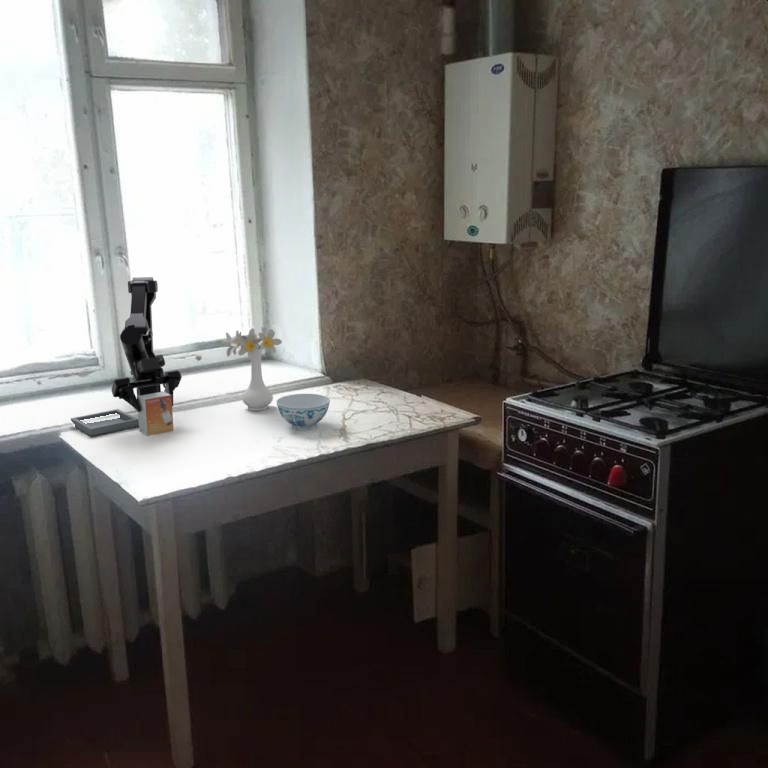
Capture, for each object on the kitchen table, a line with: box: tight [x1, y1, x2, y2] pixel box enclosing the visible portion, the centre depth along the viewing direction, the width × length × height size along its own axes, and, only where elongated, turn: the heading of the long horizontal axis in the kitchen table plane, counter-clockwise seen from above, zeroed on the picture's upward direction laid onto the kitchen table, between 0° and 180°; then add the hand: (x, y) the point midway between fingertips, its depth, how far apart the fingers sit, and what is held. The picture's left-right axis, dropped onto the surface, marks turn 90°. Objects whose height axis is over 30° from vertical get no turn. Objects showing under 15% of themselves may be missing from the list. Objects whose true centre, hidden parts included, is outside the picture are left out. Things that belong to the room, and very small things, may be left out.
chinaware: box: [276, 393, 331, 431], centre depth 228 cm, size 15×15×8 cm
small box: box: [136, 390, 174, 436], centre depth 225 cm, size 8×6×10 cm
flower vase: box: [221, 326, 283, 412], centre depth 244 cm, size 13×18×25 cm
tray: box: [70, 408, 139, 439], centre depth 229 cm, size 14×14×2 cm
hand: (156, 408), depth 223 cm, fingers open, 9 cm apart
